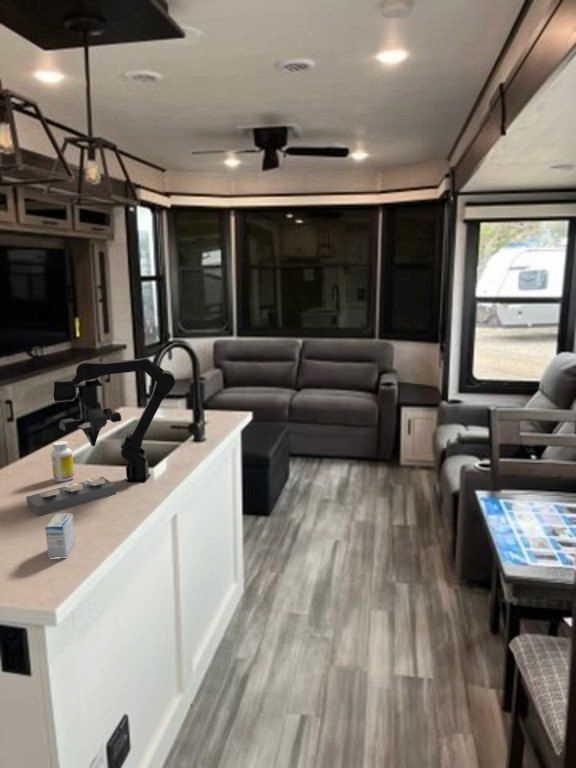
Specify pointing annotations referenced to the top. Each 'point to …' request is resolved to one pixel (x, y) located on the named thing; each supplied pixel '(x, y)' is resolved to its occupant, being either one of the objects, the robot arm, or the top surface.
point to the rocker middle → (73, 487)
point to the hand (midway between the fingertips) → (93, 445)
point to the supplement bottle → (62, 462)
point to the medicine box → (60, 535)
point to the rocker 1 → (50, 493)
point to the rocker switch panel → (69, 497)
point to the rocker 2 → (95, 481)
